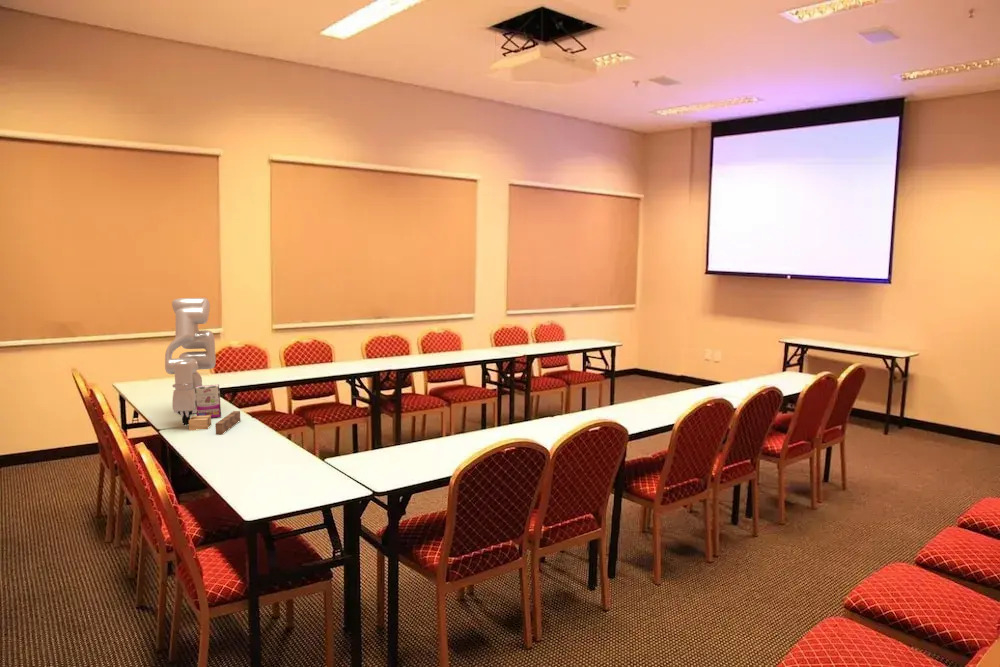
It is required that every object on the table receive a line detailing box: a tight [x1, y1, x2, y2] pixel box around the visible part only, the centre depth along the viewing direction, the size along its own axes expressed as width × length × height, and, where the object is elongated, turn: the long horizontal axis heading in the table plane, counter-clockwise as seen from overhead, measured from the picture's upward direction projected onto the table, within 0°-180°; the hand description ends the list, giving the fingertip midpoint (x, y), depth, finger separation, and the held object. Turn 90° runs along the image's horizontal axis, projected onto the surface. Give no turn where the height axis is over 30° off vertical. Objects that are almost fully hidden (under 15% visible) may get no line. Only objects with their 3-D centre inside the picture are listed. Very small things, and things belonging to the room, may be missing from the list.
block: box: [188, 415, 212, 431], centre depth 317 cm, size 8×8×5 cm
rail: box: [215, 410, 241, 435], centre depth 317 cm, size 24×3×5 cm, turn 3°
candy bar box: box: [195, 384, 222, 419], centre depth 335 cm, size 11×5×16 cm, turn 112°
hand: (186, 424), depth 316 cm, fingers closed
